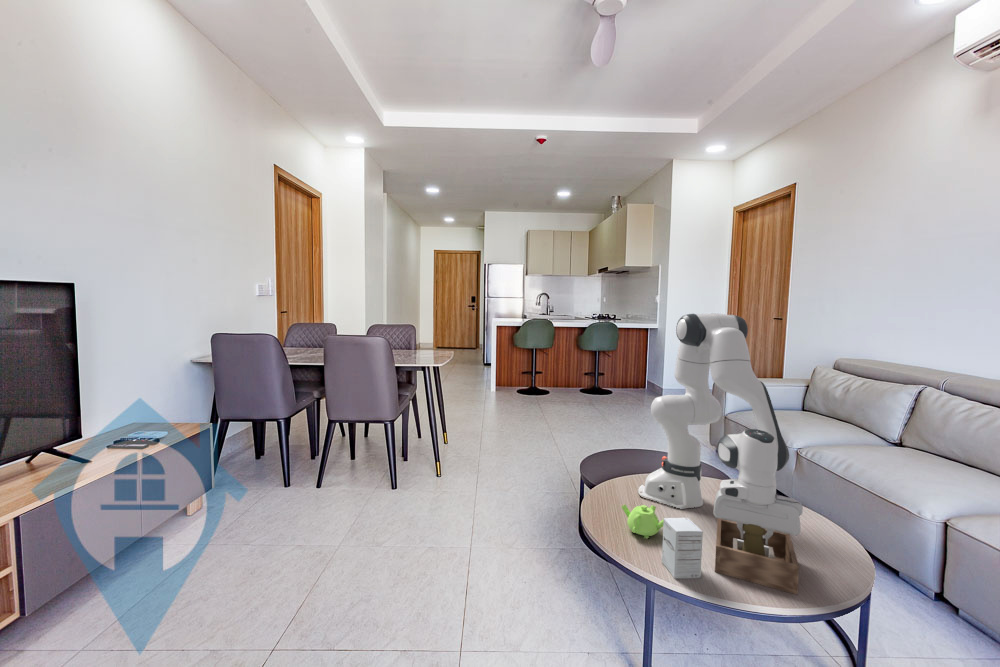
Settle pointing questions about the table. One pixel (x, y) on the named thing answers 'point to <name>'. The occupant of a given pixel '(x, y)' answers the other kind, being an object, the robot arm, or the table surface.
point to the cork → (753, 539)
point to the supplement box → (682, 547)
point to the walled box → (757, 559)
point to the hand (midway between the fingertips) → (753, 540)
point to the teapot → (643, 520)
